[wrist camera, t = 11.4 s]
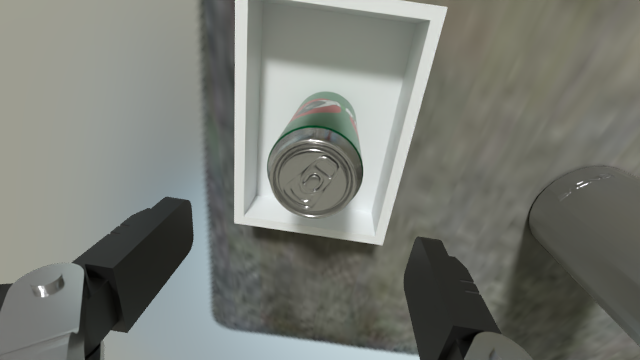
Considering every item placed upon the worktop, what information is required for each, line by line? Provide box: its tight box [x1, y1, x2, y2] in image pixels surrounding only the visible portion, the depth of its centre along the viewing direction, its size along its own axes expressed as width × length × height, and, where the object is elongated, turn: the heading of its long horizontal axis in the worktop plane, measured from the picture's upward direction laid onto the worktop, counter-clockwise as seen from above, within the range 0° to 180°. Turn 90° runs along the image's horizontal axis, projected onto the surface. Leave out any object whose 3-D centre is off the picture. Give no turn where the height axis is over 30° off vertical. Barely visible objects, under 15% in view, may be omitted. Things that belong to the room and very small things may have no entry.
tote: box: [234, 0, 448, 245], centre depth 24 cm, size 13×18×4 cm
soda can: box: [267, 91, 363, 219], centre depth 20 cm, size 5×5×12 cm
